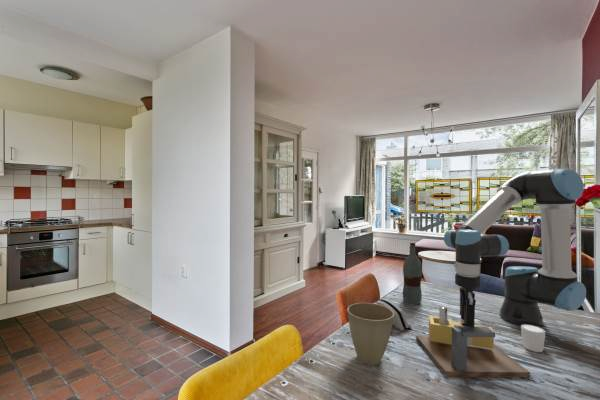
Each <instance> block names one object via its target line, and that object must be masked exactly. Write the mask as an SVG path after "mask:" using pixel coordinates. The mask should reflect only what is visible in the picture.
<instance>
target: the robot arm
mask: <svg viewBox="0 0 600 400" xmlns="http://www.w3.org/2000/svg"><path fill="white" fill-rule="evenodd" d="M584 187H585V186H584V182H583V178H582V177H581V175H580V174H578V172H576V171H575V170H573V169H571V168H554V169H541V170H529V171H525V172H521V173H519V174H516V175H515V176H513V177H511V178H509V179H508V180H507V181H505V182H504V183H503V184H502V185H500V186H499V187H498V188H497V189H496V193H495V194H494V195H493V196H492V197H491V198H490V199H489V200H488V201H487V202H486V203H484V204H483V205H482V206H481V207H480V208H479V209H477V210H476V211H475V213H473V215H471V216H470V217H469V218H468V219H466V221H465V222H464V223H463V224H461V225H460V226H459V227H458V228H457V229H449V230H447V231H446V232H445V233H444V235H443V242H444V244H445V245H446V246H447V247H448V248H451V249H455V263H453V267H455V269H454V270H455V275H454V283H455V285H457V286H458V287H459V316H460V323H462V325H463V326H475V325H476V324H475V316H476V315H475V313H476V312H475V311H476V302H477V300H476V296H475V295H476V293H475V292H474V289H479V288H480V287H481V277H480V275H481V258H482V257H484V258H485V257H486V258H487V257H499V256H503V255H505V254H507V253H508V251H509V249H510V244H509V241H508V239H507V238H506V237H505V236H503V235H501V234H494V233H493V234H486V233H485V232H486V231H487V230H488V229H489V228H490V227H491V226H492V225H493V224H495V223H496V222H497V221H498V220H499V219H500V218H501V217H502V216H503V215H504V214H505V213H507V212H508V210H509V209H511V208H512V207H513V206H517V205H518V204H520V203H521V202H523V201H525V200H535V205H536V206H537V207H539V209H540V231H541V232H540V233H541V260H542V261H541V264H542V266H541V268H537V267H533V266H521V265H518V266H516V265H513V266H507V267H506V268H505V269H504V270H505V272H504V300H503V302H502V304H501V307H500V308H499V317H500V318H502V319H503V320H505V321H507V322H510V323H512V324H516V325H520V326H521V325H524V324H526V325H533V326H537V327H542V326H543V325H544V317H543V316H542V312H541V310H540V308H539V307H540V306H539V303H541V304H545V305H547V306H551V307H553V308H556V309H559V310H560V309H561V310H564V311H568V312H573V311H576V310H578V309H579V308H580V307H581V306H582V305H583V303H584V302H585V299H586V296H587V287H586V285H585V284H584V283H582V282H581V281H578V275H577V273H576V272H574V271H573V269H572V267H573V266H572V237H571V236H572V235H571V234H572V233H571V207H573V206H575V205H576V200H579V199H580V198H581V197H582V196H583V193H584ZM467 345H472V337H467Z"/></svg>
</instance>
